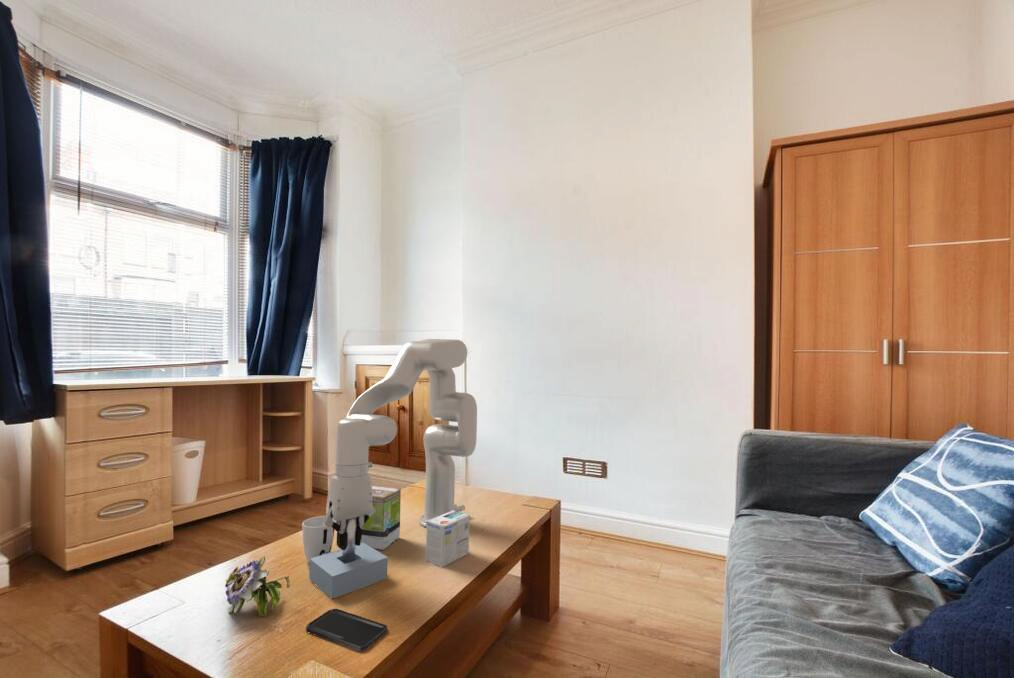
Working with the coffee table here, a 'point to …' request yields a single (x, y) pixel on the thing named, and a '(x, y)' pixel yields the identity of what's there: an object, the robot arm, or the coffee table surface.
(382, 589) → the coffee table surface
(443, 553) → the light bulb box
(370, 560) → the hole block
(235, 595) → the passion flower
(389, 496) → the tea box
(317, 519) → the cup
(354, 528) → the pin
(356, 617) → the phone
